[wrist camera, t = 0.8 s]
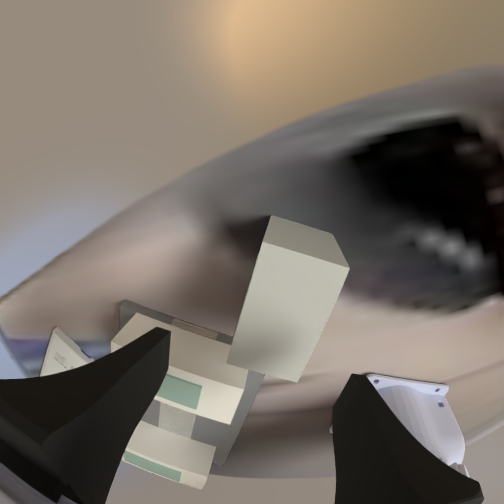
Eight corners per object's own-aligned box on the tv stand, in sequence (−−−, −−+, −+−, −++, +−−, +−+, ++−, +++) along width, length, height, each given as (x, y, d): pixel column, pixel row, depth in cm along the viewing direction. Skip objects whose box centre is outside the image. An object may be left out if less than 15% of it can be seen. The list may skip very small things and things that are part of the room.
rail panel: (273, 348, 21) (267, 398, 16) (224, 459, 27) (215, 495, 22) (126, 300, 22) (90, 334, 17) (126, 424, 28) (108, 455, 23)
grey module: (332, 233, 18) (350, 268, 12) (297, 325, 20) (298, 382, 15) (270, 214, 18) (261, 241, 13) (242, 309, 21) (225, 362, 15)
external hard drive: (44, 375, 29) (60, 323, 25) (91, 415, 30) (120, 375, 26) (37, 381, 27) (51, 331, 23) (85, 423, 28) (113, 385, 24)
